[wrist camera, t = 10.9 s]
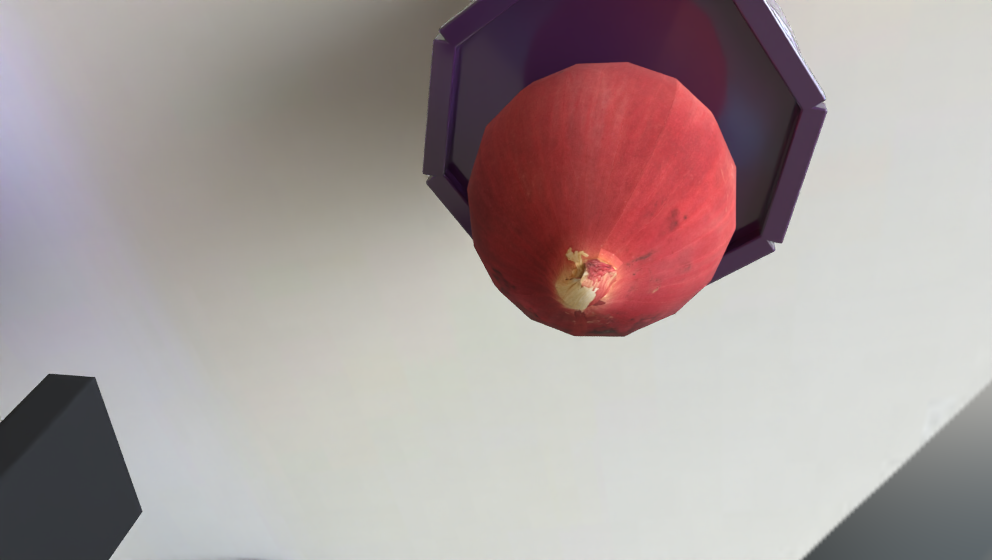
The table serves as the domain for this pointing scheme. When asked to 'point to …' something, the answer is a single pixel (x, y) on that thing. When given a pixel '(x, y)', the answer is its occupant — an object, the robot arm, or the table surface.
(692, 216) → the onion
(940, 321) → the table surface
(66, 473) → the robot arm
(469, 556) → the table surface
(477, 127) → the jar
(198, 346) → the table surface
